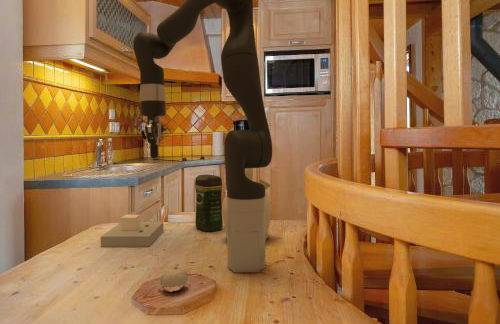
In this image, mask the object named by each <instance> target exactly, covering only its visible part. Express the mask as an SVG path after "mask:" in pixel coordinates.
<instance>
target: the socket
mask: <svg viewBox="0 0 500 324" xmlns="http://www.w3.org/2000/svg"><path fill="white" fill-rule="evenodd" d="M163 232H164V221H144V222H143V221H140V228H138V229H137V230H136V231H121V222H120V223H118V224H117V225H115V226H114V227H112V228H110V229H109V230H108V231H107V232H105V233H104V234H102V235H101V236H100V247H101V248H107V247H108V248H109V247H110V248H114V247H117V248H118V247H119V248H120V247H121V248H126V247H127V248H128V247H129V248H131V247H132V248H136V247H138V248H139V247H141V248H144V247H147V248H149V247H151V246H152V245H153V244H154V243H155V241H156V240H157V239H158V238H159V237H160V235H161V234H162V233H163Z"/></svg>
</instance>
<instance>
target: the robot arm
mask: <svg viewBox="0 0 500 324" xmlns="http://www.w3.org/2000/svg"><path fill="white" fill-rule="evenodd" d="M253 3H254V0H185V1H184V2H183V3H182V4H181V6H179V7H178V8H177V9H176V10H175V11H174V12H172V13H171V14H170V15H168V16H167V17H166V18H165V19H164V20H162V21H160V23H159V24H158V25H157V28H156V34H155V33H150V32H147V31H139V32H138V33H137V34H136V35H135V37H134V39H133V43H132V44H133V46H132V47H133V52H134V55H135V59H136V62H137V66H138V69H139V72H140V73H139V75H140V78H139V80H140V88H139V89H140V90H139V105H140V106H139V107H140V108H139V109H140V111H139V112H140V116H141V117H146V118H147V119H146V122H145V126H144V129H145V134H146V139H147V140H146V141H147V143H148V145H149V152H150V153H149V155H150V156H149V157H150V158H152V159H153V158H158V157H159V155H160V154H159V146H160V144H161V136H162V131H163V130H162V122H160V117H166V116H167V112H166V111H167V109H166V90H165V71H164V68H163V67H162V66H160V65H158V64H157V63H156V62H155V60H154V59H156V60H159V59H161V60H162V59H164V58H166V57H167V56H168V55H169V54H170V53H171V51H172V50H173V49H174V47H175V46H176V44H177V43H179V42H180V41H182V40H183V39H185V38H186V37H188V35H190V34H191V33H192V31H193V30H194V29H195V27H196V25H197V22H198V19H199V17H200V14H201V12H202V11H203V10H204V9H206V8H208V7H209V6H212V5H213V4H215V5H217V6H219V7H221V8H223V9H224V10H226V13H227V17H228V21H229V34H228V37H227V38H226V41H225V43H224V44H223V47H222V51H221V53H220V54H221V55H220V61H221V63H220V64H221V71H222V79H223V83H224V85H225V87H226V89H227V90H228V92H229V93H230V95H231V96H232V97H233V99H234V100H235V101H236V102H237V104H238V106H240V108H241V109H242V112H243V113H244V115H245V117H246V120H247V124H248V128H249V129H233V130H230V131H228V132H227V134H226V135H225V138H224V143H223V145H224V147H223V153H224V169H225V171H224V172H225V182H226V185H225V188H226V187H227V190H226V195H227V234H226V238H227V239H226V240H227V246H226V247H227V268H228V269H229V270H231V271H232V272H233V273H260V271H261V270H263V269H265V267H266V240H265V192H266V190H265V186H264V185H263V184H261V183H259V182H257V181H254V180H253V179H252V180H250V179H248V178H247V177H246V175H245V168H253V169H262V168H266V167H268V166H269V165H270V164H271V162H272V159H273V144H272V143H273V142H272V136H271V132H270V126H269V123H268V119H267V113H266V109H265V105H264V98H263V92H262V81H261V75H260V73H261V72H260V66H259V57H258V53H257V51H258V50H257V46H256V35H255V28H254V26H255V25H254V4H253Z"/></svg>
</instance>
